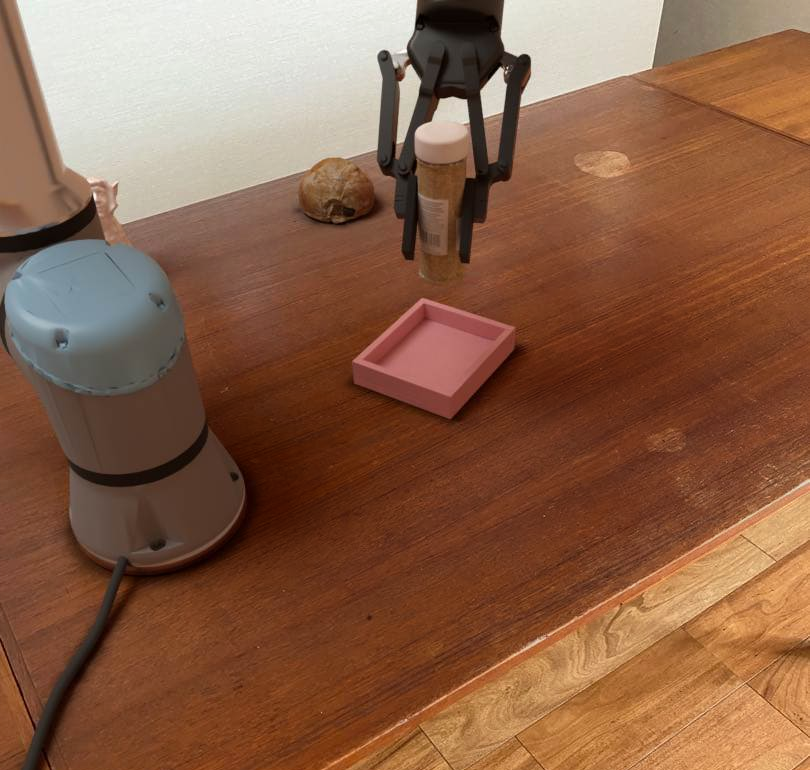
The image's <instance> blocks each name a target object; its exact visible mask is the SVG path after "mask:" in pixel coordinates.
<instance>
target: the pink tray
mask: <svg viewBox="0 0 810 770" xmlns="http://www.w3.org/2000/svg"><path fill="white" fill-rule="evenodd" d="M516 329H517V327H515V326H513V325H509V324H506V323H503V322H500V321H497V320H493V319H491V318H488V317H484V316H481V315H478V314H474V313H472V312H468V311H466V310H462V309H459V308H456V307H453V306H450V305H446V304H443V303H440V302H438V301H437V302H436V301H434V300H431V299H429V298H428V299H427V298H424V297H421V298H420V299H419V300H418V301H417V302H415V304H413V305H412V306H411V307H410V308H409V309H408V310H406V312H405V313H404V314H402V315H401V316H400V317H399V318H398V319H397V320H395V322H394V323H393V324H391V325H390V326H389V327H388V328H387V329H386V330H384V331H383V332H382V333H381V334H380V335H379V336H378V337H377V338H376V339H374V340H373V342H372V343H371V344H369V345H368V346H367V347H366V348H365V349H364V350H363V351H361V353H359V354H358V355H357V356H356V357H355V358H354V359H353V360H352V361H351V363H352V374H353V375H352V376H353V384H354V385H356V386H357V385H358V386H359V387H363V388H365V389H368V390H370V391H373V392H375V393H376V392H377V393H379V394H382V395H384V396H387V397H389V398H392V399H395V400H397V401H400V402H403V403H405V404H408V405H410V406H413V407H416V408H418V409H422V410H424V411H427V412H430V413H432V414H435V415H437V416H440V417H443V418H446V419H448V420H452V418H453V417H454V416H455V415H457V413H458V412H459V411H460V410H461V409H462V408H463V406H464V405H466V403H467V402H468V401H469V400H470V399H471V397H472V396H474V394H475V393H476V392H477V391H478V390H479V389H480V388H481V387H482V386H483V385H484V383H485V382H486V381H488V379H489V378H490V377H491V376H492V375H493V373H494V372H496V370H497V369H498V368H499V367H500V366H501V365H502V364H503V363H504V361H506V359H507V358H509V356H510V354H511V353H512V352H513V351H514V350H515V346H516V345H515V342H516Z"/></svg>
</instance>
